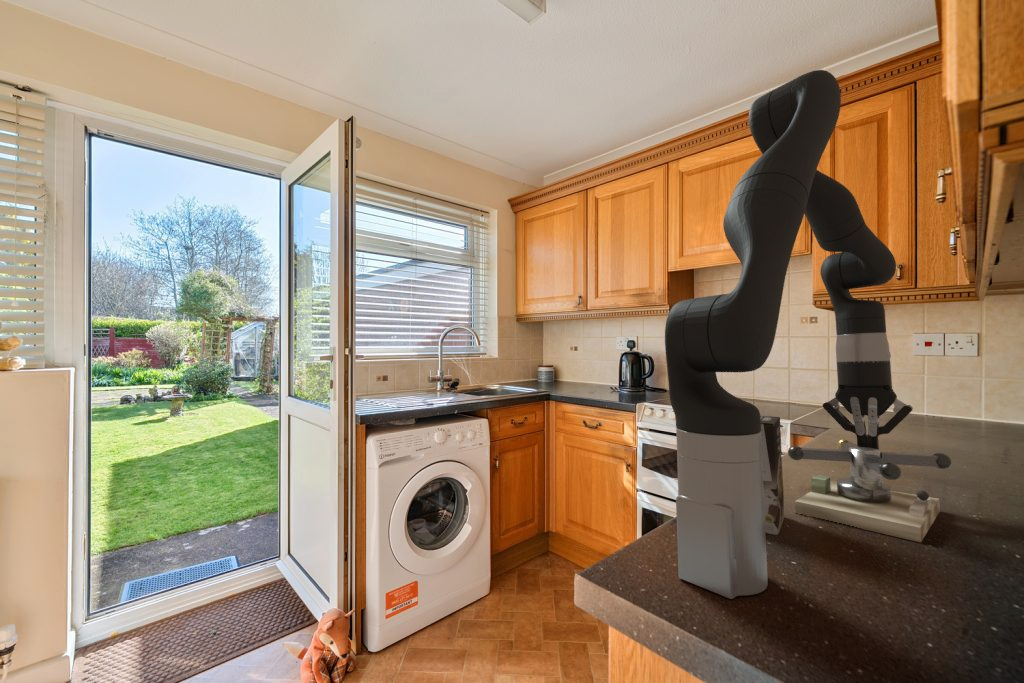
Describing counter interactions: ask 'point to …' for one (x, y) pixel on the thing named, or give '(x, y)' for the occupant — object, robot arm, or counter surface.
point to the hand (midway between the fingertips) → (869, 456)
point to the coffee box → (772, 474)
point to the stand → (871, 510)
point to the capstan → (869, 467)
